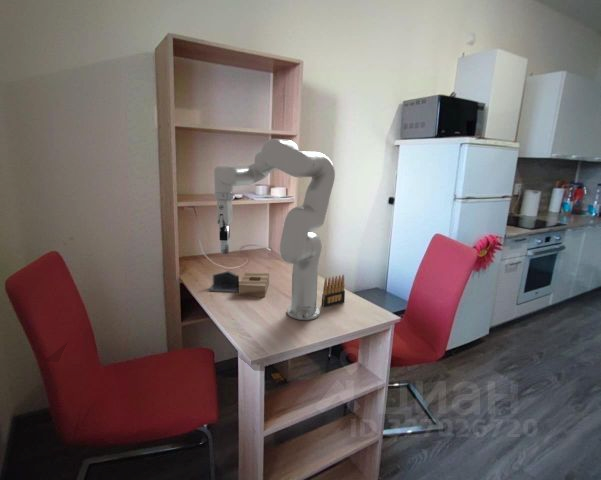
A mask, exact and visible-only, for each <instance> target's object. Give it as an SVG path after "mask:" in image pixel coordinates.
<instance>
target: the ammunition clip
mask: <svg viewBox="0 0 601 480" xmlns="http://www.w3.org/2000/svg"><path fill="white" fill-rule="evenodd" d="M334 277H335V278H334ZM322 292H323V293H322V296H321V297H322V298H321V305H320V306H321V307H324V308H327V307H331V306H334V305H338V304H342V303H343V304H344V303H345V301H346V300H345V299H346V297H345V296H346V295H345V293H346V292H345V275H344V274H342V276H341V274H340V275H339V276H337V275H336V276H332V277H330V276H329V277H328V278H327V277H325V278H324V284H323V290H322Z"/></svg>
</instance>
